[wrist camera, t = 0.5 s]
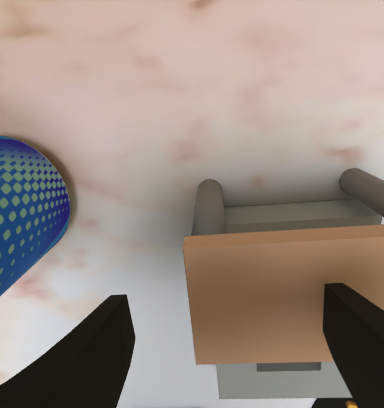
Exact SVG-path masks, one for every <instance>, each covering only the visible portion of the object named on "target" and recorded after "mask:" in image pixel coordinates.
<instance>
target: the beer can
mask: <svg viewBox="0 0 384 408" xmlns="http://www.w3.org/2000/svg"><path fill="white" fill-rule="evenodd" d="M69 219H70V199H69V194H68V191H67V188H66V185H65V183H64V181H63V179H62V177H61V175H60V174H59V172H58V171H57V169H56V168H55V167H54V165H53V164H52V163H51V162H50V161H49V160H48V159H47V158H46V157H45V156H44V155H43V154H41V153H40V152H39V151H38V150H36V149H35V148H33V147H32V146H30V145H28V144H26V143H24V142H22V141H19V140H17V139H14V138H10V137H5V136H0V296H1V295H2V294H3V293H4V292H5V291H6V290H7V289H8V288H10V287H11V286H12V285H13V284H14V283H15V282H16V281H17V280H18V279H19V278H20V277H21V276H22V275H23V274H24V273H26V272H27V271H28V270H29V269H30V268H31V267H32V266H33V265H34V264H35V263H36V262H37V261H38V260H39V259H41V258H42V257H43V256H44V255H45V254H46V253H47V252H48V251H49V250H50V249H51V248H52V247H53V246H54V245H56V244H57V243H58V242H59V240H60V239H61V238H62V236H63V235H64V233H65V231H66V229H67V226H68V224H69Z"/></svg>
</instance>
